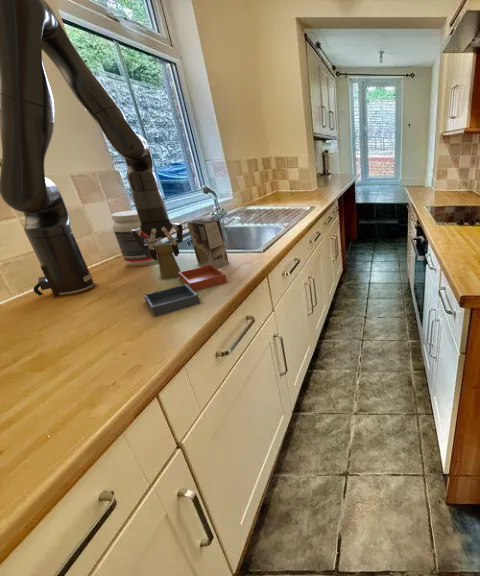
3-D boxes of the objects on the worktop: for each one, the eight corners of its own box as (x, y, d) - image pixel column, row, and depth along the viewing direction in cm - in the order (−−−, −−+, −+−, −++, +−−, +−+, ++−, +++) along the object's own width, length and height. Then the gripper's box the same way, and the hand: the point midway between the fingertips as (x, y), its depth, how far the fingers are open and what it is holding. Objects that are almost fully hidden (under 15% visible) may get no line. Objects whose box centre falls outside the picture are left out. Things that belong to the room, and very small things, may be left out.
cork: (174, 279, 104) (165, 246, 99) (156, 279, 104) (146, 246, 100) (185, 272, 109) (177, 241, 105) (168, 272, 110) (159, 241, 105)
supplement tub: (163, 264, 117) (148, 214, 109) (121, 269, 112) (102, 217, 105) (170, 254, 128) (156, 208, 120) (131, 258, 123) (114, 211, 116)
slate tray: (154, 316, 81) (151, 307, 80) (146, 303, 88) (143, 294, 87) (200, 303, 88) (197, 294, 87) (188, 291, 95) (186, 283, 94)
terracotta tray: (191, 291, 95) (189, 283, 94) (179, 279, 104) (177, 272, 103) (226, 282, 102) (225, 274, 101) (212, 271, 110) (211, 264, 109)
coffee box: (229, 263, 118) (220, 220, 111) (214, 269, 113) (204, 223, 106) (212, 260, 121) (202, 217, 115) (197, 265, 116) (185, 221, 109)
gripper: (173, 201, 104) (187, 250, 111) (119, 206, 95) (137, 260, 102) (180, 203, 99) (193, 255, 106) (123, 210, 90) (142, 266, 97)
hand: (166, 257), depth 104 cm, fingers closed on cork, 5 cm apart
